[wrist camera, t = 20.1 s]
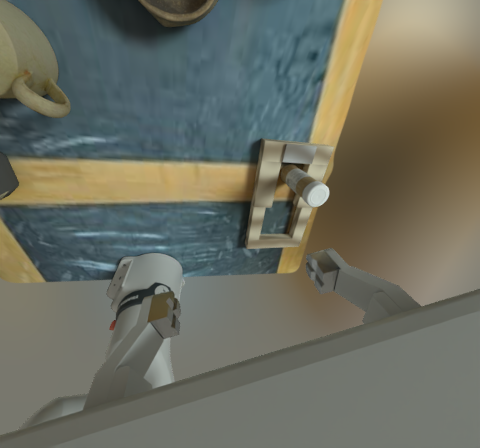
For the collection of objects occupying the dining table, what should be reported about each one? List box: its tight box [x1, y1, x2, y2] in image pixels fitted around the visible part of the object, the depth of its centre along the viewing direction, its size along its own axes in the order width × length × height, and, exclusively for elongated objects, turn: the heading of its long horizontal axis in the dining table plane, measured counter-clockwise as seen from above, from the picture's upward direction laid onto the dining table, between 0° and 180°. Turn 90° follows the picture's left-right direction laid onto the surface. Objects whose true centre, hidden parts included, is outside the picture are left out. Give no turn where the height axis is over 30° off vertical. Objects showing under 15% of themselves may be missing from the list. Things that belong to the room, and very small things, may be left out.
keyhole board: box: [245, 139, 334, 249], centre depth 48 cm, size 28×16×3 cm, turn 174°
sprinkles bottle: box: [280, 164, 329, 207], centre depth 40 cm, size 5×5×14 cm
